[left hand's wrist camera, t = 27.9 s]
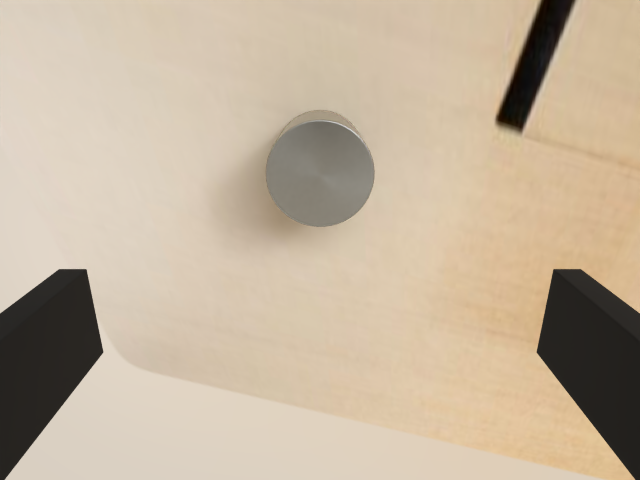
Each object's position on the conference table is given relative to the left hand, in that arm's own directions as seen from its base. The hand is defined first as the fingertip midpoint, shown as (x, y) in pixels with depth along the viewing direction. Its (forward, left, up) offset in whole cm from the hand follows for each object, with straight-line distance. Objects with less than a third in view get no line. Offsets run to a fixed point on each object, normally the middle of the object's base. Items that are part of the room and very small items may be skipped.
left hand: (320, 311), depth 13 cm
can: (0, 0, -26) cm, 26 cm away
